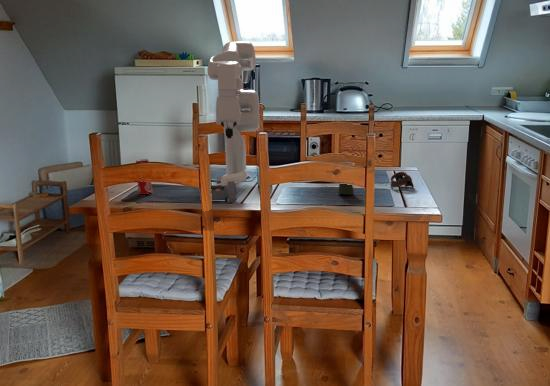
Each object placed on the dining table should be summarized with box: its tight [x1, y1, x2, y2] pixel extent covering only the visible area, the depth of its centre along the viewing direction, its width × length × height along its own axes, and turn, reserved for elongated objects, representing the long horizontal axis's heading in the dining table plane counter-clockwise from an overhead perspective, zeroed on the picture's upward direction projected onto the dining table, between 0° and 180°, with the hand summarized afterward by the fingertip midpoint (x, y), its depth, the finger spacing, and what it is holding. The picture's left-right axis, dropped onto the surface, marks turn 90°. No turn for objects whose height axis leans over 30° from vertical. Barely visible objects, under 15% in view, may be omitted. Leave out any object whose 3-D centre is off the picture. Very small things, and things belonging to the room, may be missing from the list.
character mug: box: [338, 161, 356, 196], centre depth 241 cm, size 11×7×13 cm, turn 172°
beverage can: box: [135, 158, 153, 195], centre depth 250 cm, size 6×6×15 cm
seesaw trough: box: [216, 168, 249, 186], centre depth 241 cm, size 13×13×3 cm
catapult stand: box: [226, 181, 239, 203], centre depth 239 cm, size 14×4×8 cm, turn 1°
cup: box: [211, 180, 228, 200], centre depth 239 cm, size 9×7×8 cm
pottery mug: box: [390, 171, 415, 190], centre depth 251 cm, size 12×10×8 cm
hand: (229, 137), depth 245 cm, fingers closed
